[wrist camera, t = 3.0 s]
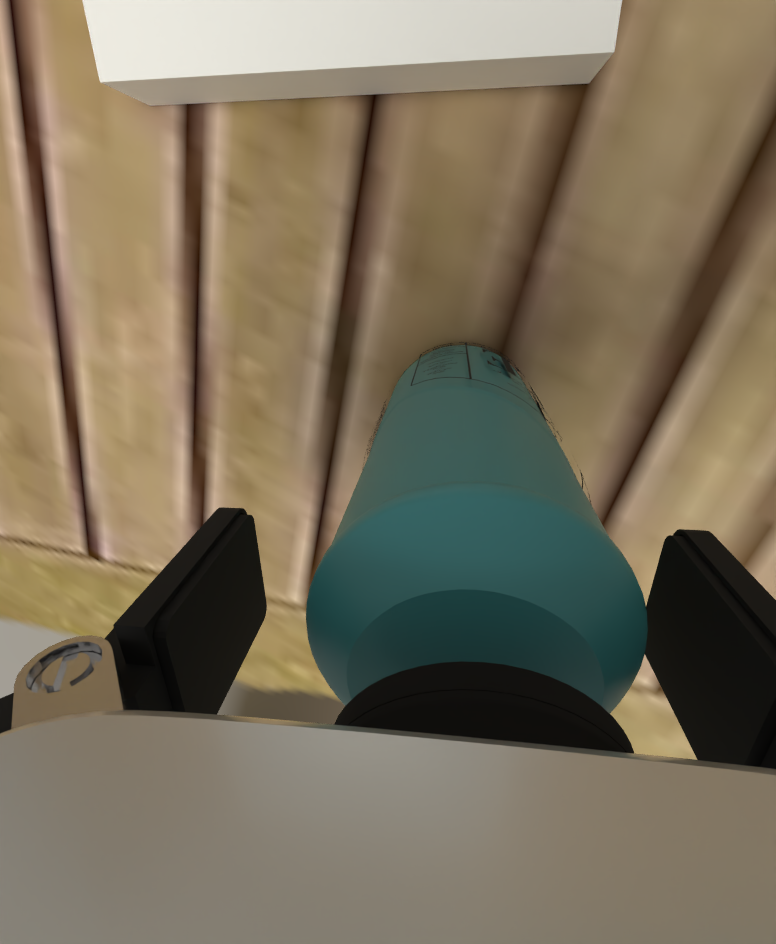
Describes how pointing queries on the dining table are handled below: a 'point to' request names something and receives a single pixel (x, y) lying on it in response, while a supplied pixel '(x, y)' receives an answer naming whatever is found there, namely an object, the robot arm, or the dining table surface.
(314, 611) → the beverage bottle
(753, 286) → the dining table surface
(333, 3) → the display stand
